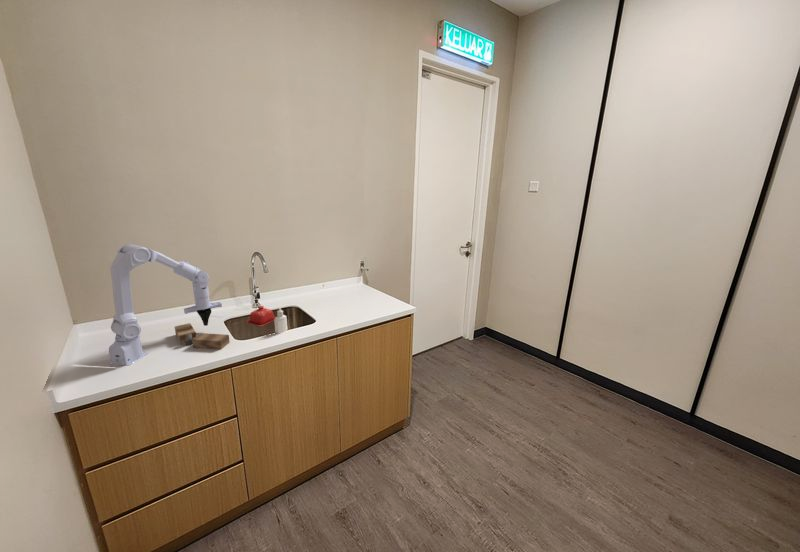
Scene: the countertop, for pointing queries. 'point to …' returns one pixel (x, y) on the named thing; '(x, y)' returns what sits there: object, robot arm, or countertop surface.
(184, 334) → the swing leaf
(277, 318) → the eye dropper bottle
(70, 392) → the countertop surface
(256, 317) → the butter dish
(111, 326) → the robot arm
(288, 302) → the countertop surface
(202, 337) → the oblong wooden brick
